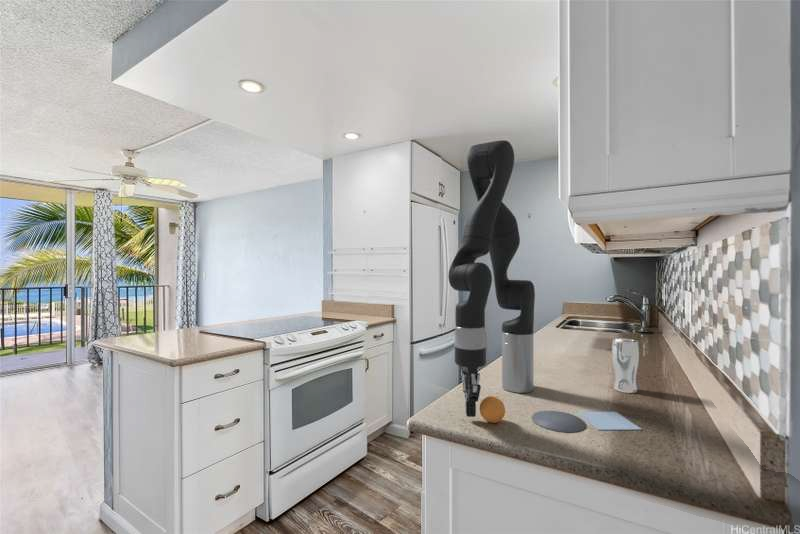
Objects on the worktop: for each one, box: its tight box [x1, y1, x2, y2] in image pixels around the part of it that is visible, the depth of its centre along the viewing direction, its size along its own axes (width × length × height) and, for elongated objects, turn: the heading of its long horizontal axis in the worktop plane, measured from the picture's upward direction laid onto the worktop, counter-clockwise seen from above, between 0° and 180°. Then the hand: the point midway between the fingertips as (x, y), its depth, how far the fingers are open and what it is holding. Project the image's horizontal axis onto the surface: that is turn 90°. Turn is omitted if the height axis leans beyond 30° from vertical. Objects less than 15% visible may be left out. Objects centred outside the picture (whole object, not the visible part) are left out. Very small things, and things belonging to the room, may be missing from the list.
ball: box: [479, 395, 506, 424], centre depth 89 cm, size 6×6×6 cm
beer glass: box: [611, 337, 640, 394], centre depth 111 cm, size 7×7×15 cm
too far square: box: [576, 411, 642, 431], centre depth 89 cm, size 10×10×1 cm
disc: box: [531, 410, 587, 433], centre depth 89 cm, size 12×12×1 cm
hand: (470, 415), depth 90 cm, fingers closed
